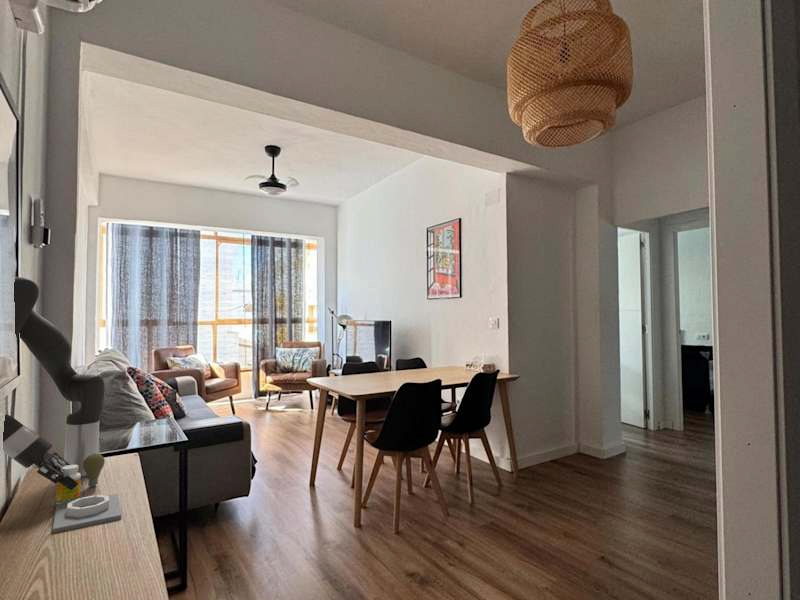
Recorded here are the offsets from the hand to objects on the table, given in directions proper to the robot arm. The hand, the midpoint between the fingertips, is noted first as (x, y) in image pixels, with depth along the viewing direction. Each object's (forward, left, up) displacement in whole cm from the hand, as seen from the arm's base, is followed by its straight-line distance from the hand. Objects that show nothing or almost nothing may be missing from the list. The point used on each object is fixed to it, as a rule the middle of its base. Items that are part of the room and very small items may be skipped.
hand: (76, 483), depth 125 cm
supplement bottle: (+1, -2, -5) cm, 5 cm away
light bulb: (-11, -3, -5) cm, 12 cm away
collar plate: (+9, +9, -5) cm, 14 cm away
